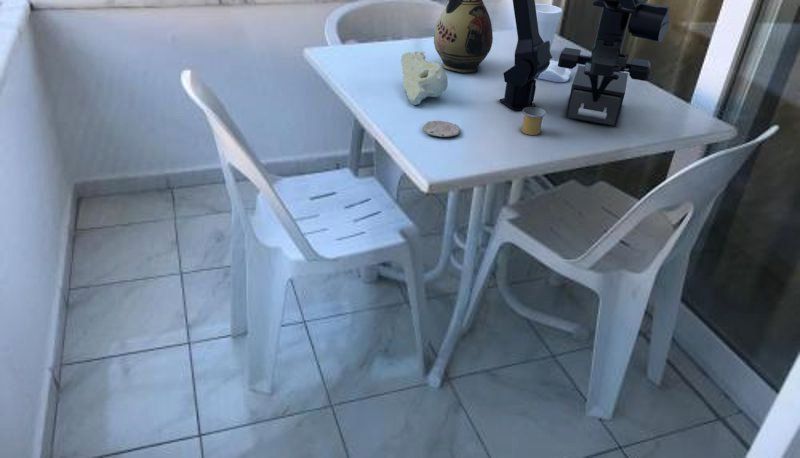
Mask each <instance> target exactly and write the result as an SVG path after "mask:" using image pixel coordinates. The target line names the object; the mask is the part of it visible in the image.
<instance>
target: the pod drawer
mask: <svg viewBox="0 0 800 458" xmlns="http://www.w3.org/2000/svg"><path fill="white" fill-rule="evenodd" d="M620 100H621V97H618V95H613V94H607V93H602V95H601V96H600V98H599V99H598V101H597V102H593V96H592V91H589V90H583V89H577V90H575V89H574V90H573V94H572V99H571V104H570V108H569V113H568V117H571V118H570V119H572V118H577V119H582V120H581V121H583V120H588V121H593V122H592V123H594V122H599V123H604V124H603V125H605V124H610V125H614V124H615V120H616V116H617V112H618V108H619V104H620ZM577 119H576V120H577ZM588 121H587V122H588ZM599 123H598V124H599ZM610 125H609V126H610Z"/></svg>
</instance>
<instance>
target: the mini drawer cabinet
mask: <svg viewBox="0 0 800 458" xmlns="http://www.w3.org/2000/svg"><path fill="white" fill-rule="evenodd" d="M584 70H585V65H578V67H577V70H576V71H575V75H574V77H573V81H572V84H571V88H570V94H569V98H568V103H567V106H566V113H565V116H564V117H565V118H566V119H572V120H578V121H583V122H588V123H594V124H599V125H606V126H611V127H617V126H618V122H619V117H620V113H621V111H622V106H623V103H624V99H625V95H626V90H627V89H626V88H627V83H628V76H629V72H621V73H620V74H619V79H618V80H612V81H611V82H610V83H609V84H608V86H607V87H606V88H605V90H604V91H603V93H607V94H613V95H618V97H621V100H620V104H619V108H618V112H617V116H616V120H615V124H614V125H610V124H604V123H599V122H593V121H588V120H582V119H577V118H571V117H568V113H569V108H570V104H571V99H572V94H573V90H574V89H575V90H577V89H583V90H589V91H592V86H591V82H590V78H589V76H588V75H585V74H584ZM602 79H603V76H600V75H599V79H598V88H597V92H598V89H599V87H600V84H601V81H602Z"/></svg>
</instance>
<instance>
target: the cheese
mask: <svg viewBox="0 0 800 458" xmlns="http://www.w3.org/2000/svg"><path fill="white" fill-rule="evenodd" d="M400 62H401V69H402V84H403V86H402V87H403V90H404V92H406V95H407V97H408V99H409V101H410V103H411V104H412V105H414V106H416V105H420V104H421V102H422V100H425V99H426V98H430V97H431V98H440V96H441V95H442V94H443V93H444V92H445V91H446V90H447V88H448V84H449V83H448V75H447V73H446V70H445V68H444V66H443V65H442V64H441V63H438V62H437V61H435V62H434V61H433V62H428V61H427V60H426V55H425V51H420V52H417V51H416V50H414V51H413V52H409V51H407V52H404V53H402V55H401V59H400Z"/></svg>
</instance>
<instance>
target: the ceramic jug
mask: <svg viewBox="0 0 800 458" xmlns="http://www.w3.org/2000/svg"><path fill="white" fill-rule="evenodd" d="M493 35H494V34H493V25H492V20H491V17H490V14H489V12H488V9H487V7H486V5H485V2H484V1H483V0H448V2H447V3H446V5H445V6H444V7H443V9H442V11H441V12H440V13H439V17H438V19H437V21H436V24H435V28H434V34H433V45H434V48H435V51H436V53H437V55H438V56H439V58H440V59H441V61H442V62H443V63H442V64H443V65H442V66H443V69H447V70H449V71H453V72H458V73H463V74H464V73H477V72H478V70H479V66H480V65H481V63H482V62H483V61H484V60H485V59H486V57H488V55H489V53H490V51H492V50H491V49H492V46H493V41H494V36H493Z"/></svg>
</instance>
